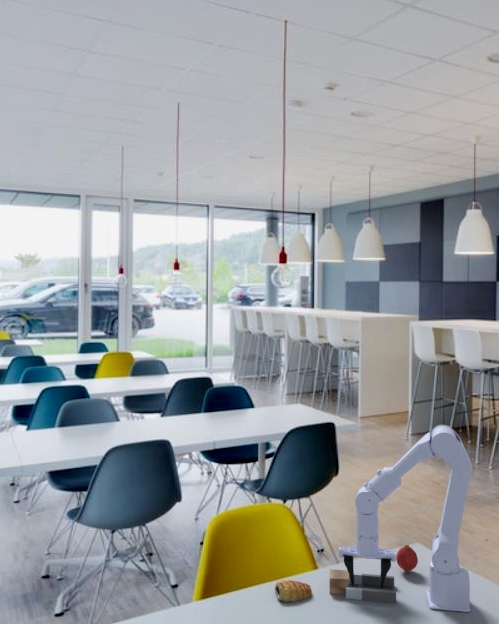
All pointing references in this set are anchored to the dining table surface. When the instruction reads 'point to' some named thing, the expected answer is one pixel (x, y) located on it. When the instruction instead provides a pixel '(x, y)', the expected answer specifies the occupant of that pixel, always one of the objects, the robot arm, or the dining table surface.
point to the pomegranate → (407, 558)
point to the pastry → (292, 590)
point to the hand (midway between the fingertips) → (367, 585)
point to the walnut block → (339, 581)
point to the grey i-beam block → (372, 588)
